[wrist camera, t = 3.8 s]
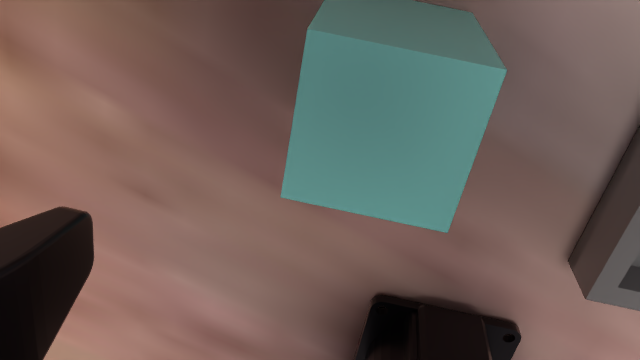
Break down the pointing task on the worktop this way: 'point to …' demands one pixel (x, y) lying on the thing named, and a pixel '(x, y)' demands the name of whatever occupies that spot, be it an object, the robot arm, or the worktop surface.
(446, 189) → the teal block
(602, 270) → the parts tray
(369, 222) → the worktop surface
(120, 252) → the worktop surface
